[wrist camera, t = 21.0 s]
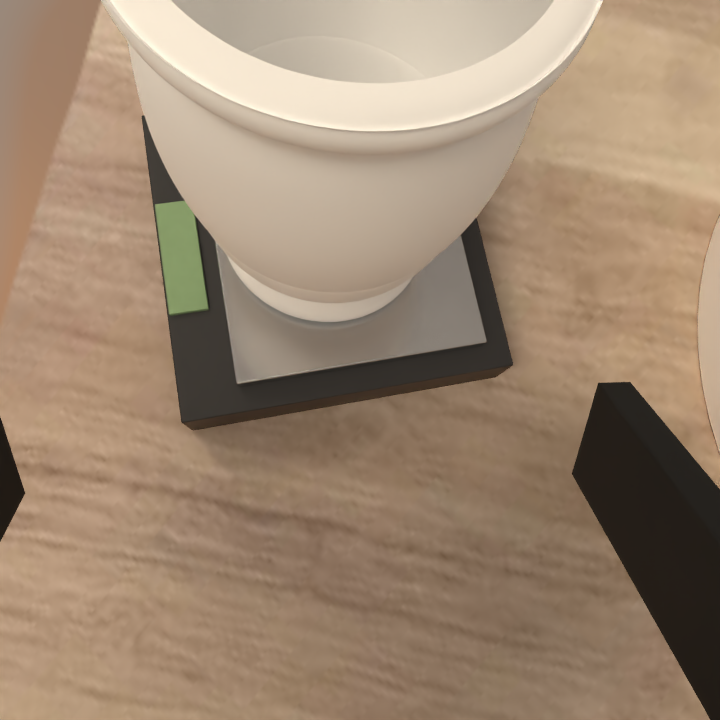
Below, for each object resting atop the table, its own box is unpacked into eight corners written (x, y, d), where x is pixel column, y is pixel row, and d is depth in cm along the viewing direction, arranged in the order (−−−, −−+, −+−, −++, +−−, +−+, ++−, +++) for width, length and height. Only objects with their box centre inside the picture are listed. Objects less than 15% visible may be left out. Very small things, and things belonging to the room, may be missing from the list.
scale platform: (198, 128, 28) (195, 117, 27) (423, 102, 29) (426, 91, 28) (238, 388, 25) (236, 384, 24) (482, 346, 27) (487, 342, 26)
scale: (154, 146, 30) (140, 112, 27) (432, 114, 32) (443, 79, 29) (191, 430, 27) (180, 422, 25) (496, 377, 29) (515, 364, 26)
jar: (147, 268, 25) (-63, -61, 11) (277, 81, 28) (252, -390, 13) (376, 396, 25) (483, 236, 10) (486, 195, 27) (698, -160, 13)
